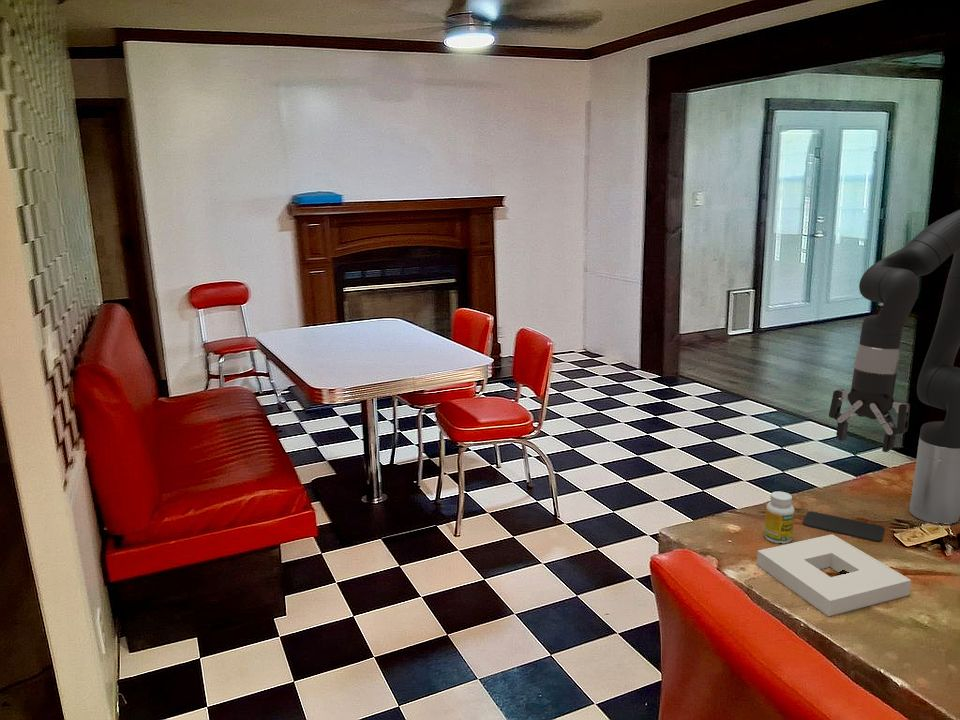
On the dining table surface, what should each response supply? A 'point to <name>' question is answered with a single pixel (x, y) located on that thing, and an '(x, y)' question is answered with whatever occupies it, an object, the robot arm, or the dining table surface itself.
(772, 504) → the supplement bottle
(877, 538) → the phone
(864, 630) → the dining table surface
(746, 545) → the dining table surface
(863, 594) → the socket block
